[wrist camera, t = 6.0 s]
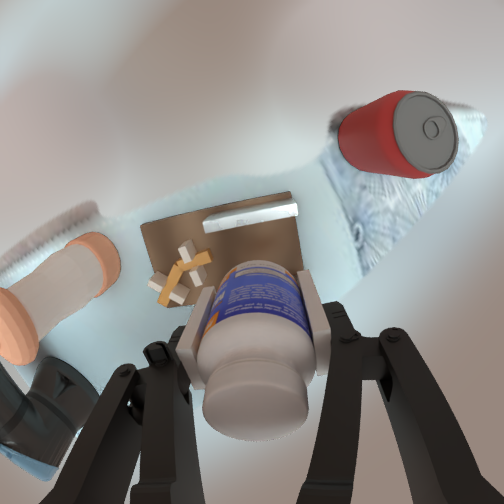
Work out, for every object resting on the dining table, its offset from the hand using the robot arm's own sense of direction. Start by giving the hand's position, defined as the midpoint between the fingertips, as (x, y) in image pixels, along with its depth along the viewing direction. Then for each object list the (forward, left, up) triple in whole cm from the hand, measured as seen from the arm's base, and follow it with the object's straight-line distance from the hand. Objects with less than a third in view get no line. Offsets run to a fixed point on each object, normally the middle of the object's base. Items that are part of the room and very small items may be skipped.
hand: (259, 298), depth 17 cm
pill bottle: (0, 0, -1) cm, 1 cm away
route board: (-4, 0, -12) cm, 12 cm away
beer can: (+13, +9, -12) cm, 20 cm away
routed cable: (-9, -1, -11) cm, 14 cm away
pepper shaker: (-20, +2, -12) cm, 23 cm away
